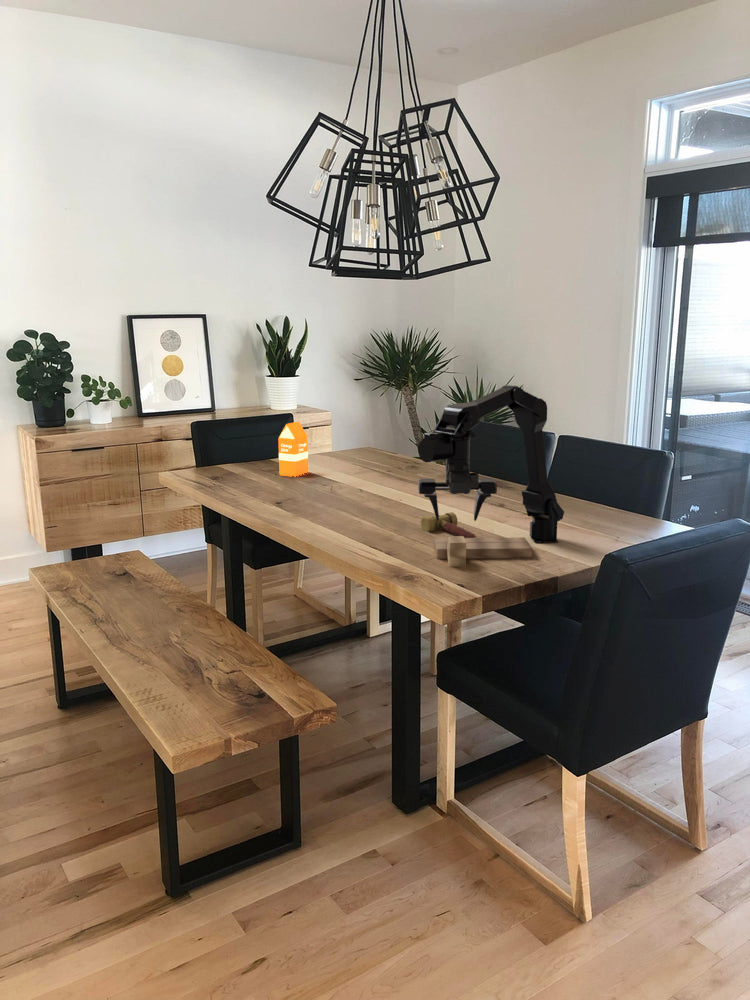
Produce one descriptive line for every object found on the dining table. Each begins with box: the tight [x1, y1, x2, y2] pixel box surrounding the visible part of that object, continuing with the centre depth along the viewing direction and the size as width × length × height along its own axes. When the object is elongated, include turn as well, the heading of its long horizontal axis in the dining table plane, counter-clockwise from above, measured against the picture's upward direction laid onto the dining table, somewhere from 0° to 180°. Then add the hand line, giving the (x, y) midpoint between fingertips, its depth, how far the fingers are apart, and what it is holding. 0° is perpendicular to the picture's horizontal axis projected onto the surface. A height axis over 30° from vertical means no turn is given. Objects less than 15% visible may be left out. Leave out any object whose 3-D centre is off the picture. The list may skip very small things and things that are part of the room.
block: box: [446, 535, 467, 567], centre depth 204 cm, size 4×12×6 cm, turn 0°
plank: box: [433, 537, 533, 560], centre depth 210 cm, size 24×10×2 cm, turn 90°
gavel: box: [420, 512, 478, 538], centre depth 226 cm, size 21×5×10 cm
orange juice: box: [278, 421, 309, 478], centre depth 312 cm, size 8×9×20 cm
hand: (456, 520), depth 199 cm, fingers open, 9 cm apart
